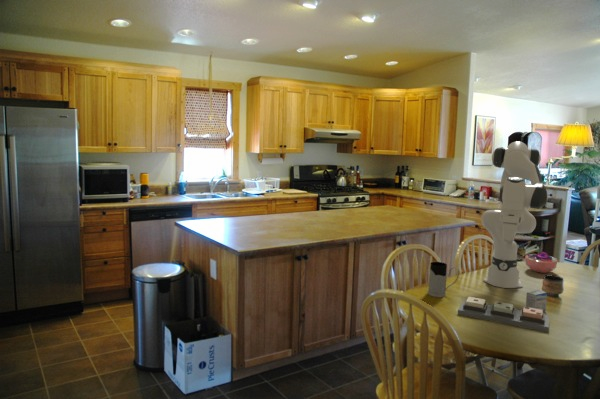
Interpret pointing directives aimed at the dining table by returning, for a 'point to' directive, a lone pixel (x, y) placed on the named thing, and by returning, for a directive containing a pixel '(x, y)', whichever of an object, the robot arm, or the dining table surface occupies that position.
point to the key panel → (505, 316)
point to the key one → (475, 302)
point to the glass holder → (438, 279)
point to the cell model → (541, 262)
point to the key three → (532, 312)
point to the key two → (503, 307)
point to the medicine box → (536, 300)
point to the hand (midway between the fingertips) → (509, 248)
